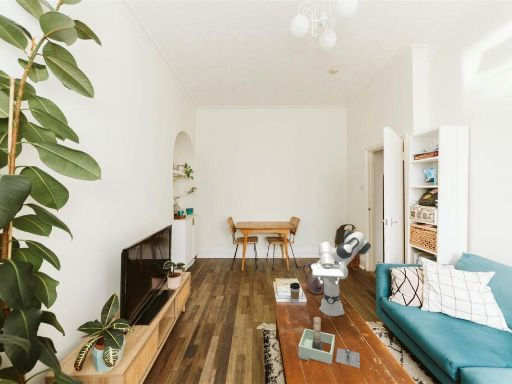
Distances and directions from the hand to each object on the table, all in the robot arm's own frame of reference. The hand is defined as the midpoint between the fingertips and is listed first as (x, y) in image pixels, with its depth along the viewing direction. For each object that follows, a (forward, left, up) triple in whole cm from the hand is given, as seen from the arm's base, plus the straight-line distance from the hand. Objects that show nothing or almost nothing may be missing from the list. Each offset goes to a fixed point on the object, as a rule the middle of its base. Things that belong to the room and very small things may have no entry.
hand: (329, 284), depth 153 cm
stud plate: (+14, +12, -35) cm, 40 cm away
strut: (+14, -5, -34) cm, 38 cm away
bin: (+14, -5, -35) cm, 39 cm away
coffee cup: (-41, -32, -36) cm, 63 cm away
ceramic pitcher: (-66, -20, -36) cm, 77 cm away
